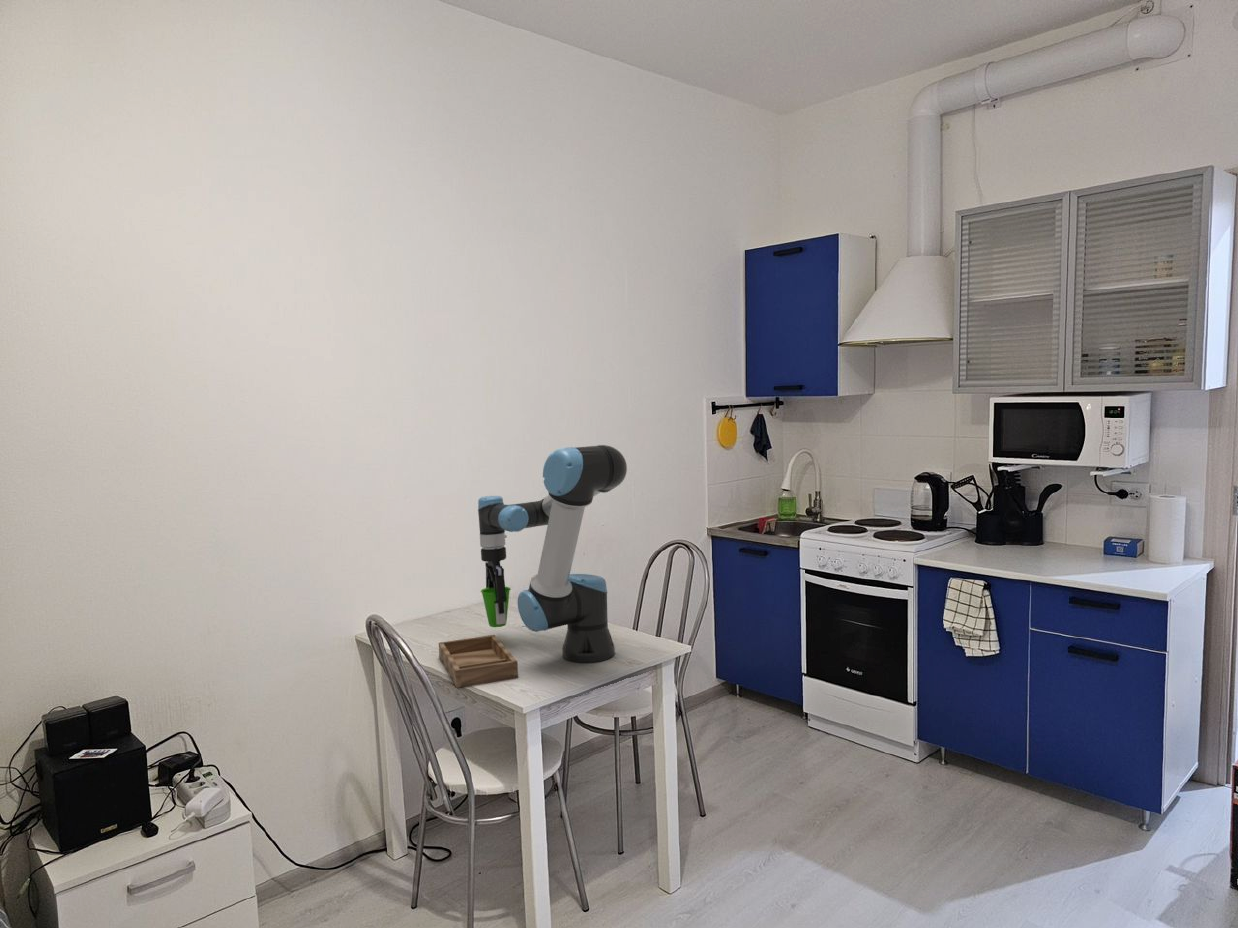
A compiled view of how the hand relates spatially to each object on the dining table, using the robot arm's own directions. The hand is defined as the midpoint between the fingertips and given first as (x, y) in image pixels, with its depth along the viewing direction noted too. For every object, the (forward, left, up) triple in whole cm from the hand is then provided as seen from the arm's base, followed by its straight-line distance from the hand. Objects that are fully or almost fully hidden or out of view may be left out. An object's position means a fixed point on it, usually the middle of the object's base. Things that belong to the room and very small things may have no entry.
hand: (497, 620), depth 248 cm
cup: (0, 0, -2) cm, 2 cm away
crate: (-15, +17, -7) cm, 24 cm away
